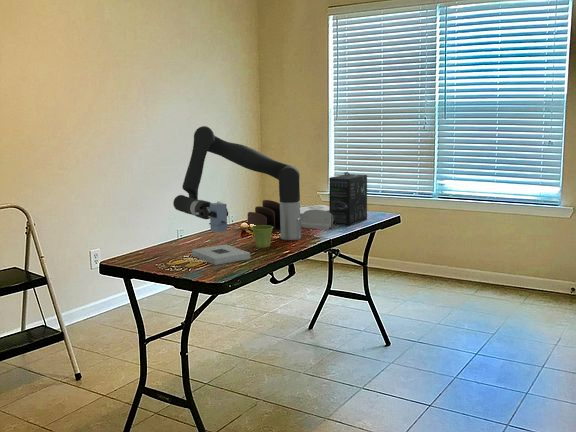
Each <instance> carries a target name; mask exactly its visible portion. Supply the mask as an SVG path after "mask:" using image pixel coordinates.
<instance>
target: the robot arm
mask: <svg viewBox="0 0 576 432" xmlns="http://www.w3.org/2000/svg"><path fill="white" fill-rule="evenodd" d="M192 146H193V147H192V149H191V155H190V160H189V163H188V165H187V170H186V172H185V176H184V179H183V183H182V189H183V191H184V192H186V193H187V194H188V196H186V195H184V194H178V195H177V196H176V197H175V198H174V199H173V207H174V209H175V210H176V211H179V212H183V213H185V214H188V215H191V216H194V217H197V218H199V219H203V220H210V217H213V218H217V213H216V212H213V211H210V203H212V202H210V201H209V200H203V199H198V198H199V197H198V195H199V187H200V183H201V179H202V175H203V171H204V166H205V160H206V158H207V157H206V156H207V154H208V152H209V153H212V154H214V155H216V156H219V157H222V158H224V159H225V160H228V161H230V162H231V163H234V164H236V165H238V166H240V167H243V168H245V169H247V170H250V171H253V172H256V173H261V174H265V175H268V176H270V177H272V178H274V179H277V180H278V192H279V193H278V197H279V203H280V232H279V233H280V240H284V241H296V240H297V241H298V240H300V239H301V238H302V227H301V217H300V207H301V194H300V191H301V190H300V188H301V187H300V178H301V177H300V175H301V174H300V171H299V169H298V168H296V166H293V165H290V164H286V163H283V162H280V161H277V160H275V159H273V158H271V157H269V156H268V155H266V154H264V153H262V152H261V151H257V150H256V149H254V148H251V147H249V146H247V145H244V144H241V143H235V142H230V141H226V140H223V139H222V138H220V137H218V136H216V135H215V133H214V131H213V130H212V128H210V127H208V126H205V125H203V126H200V127H198V128H197V129H196V130H195V131H194V133H193V144H192ZM227 217H229V211H228V210H227Z"/></svg>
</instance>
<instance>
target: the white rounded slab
mask: <svg viewBox="0 0 576 432" xmlns="http://www.w3.org/2000/svg"><path fill="white" fill-rule="evenodd" d="M314 209H318V210H324V211H327V212H329V206H328V205H325V204H318V205H308V206H300V217H301V222H302V218H303V214H304V212H305V211H308V210H314Z"/></svg>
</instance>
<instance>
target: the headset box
mask: <svg viewBox="0 0 576 432" xmlns="http://www.w3.org/2000/svg"><path fill="white" fill-rule="evenodd" d="M328 180H329V181H328V183H329V184H328V185H329V188H328V190H329V194H328V195H329V199H328V200H329V213H331V214H332V215H333V225H336V226H347V227H349V226H351V225H354V224H357V223H360V222H363V221H366V220H368V175H367V174H351V173H349V172H348V171H346V172H343V174H341V175H335V176H330V177H329V178H328Z"/></svg>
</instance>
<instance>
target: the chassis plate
mask: <svg viewBox="0 0 576 432" xmlns="http://www.w3.org/2000/svg"><path fill="white" fill-rule="evenodd" d="M191 256H192V257H194V258H197V259H200V260H201V261H204V262H207V263H209V264H211V265H214V266H218V265H222V264H223V265H224V264H229V263H234V262H235V263H236V262H239V261H240V262H242V261H245V260H246V261H247V260H251V252H249V251H246V250H242V249H241V248H238V247H234V246H231V245H229V244H219V245H214V246H207V247H201V248H195V249H191Z"/></svg>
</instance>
